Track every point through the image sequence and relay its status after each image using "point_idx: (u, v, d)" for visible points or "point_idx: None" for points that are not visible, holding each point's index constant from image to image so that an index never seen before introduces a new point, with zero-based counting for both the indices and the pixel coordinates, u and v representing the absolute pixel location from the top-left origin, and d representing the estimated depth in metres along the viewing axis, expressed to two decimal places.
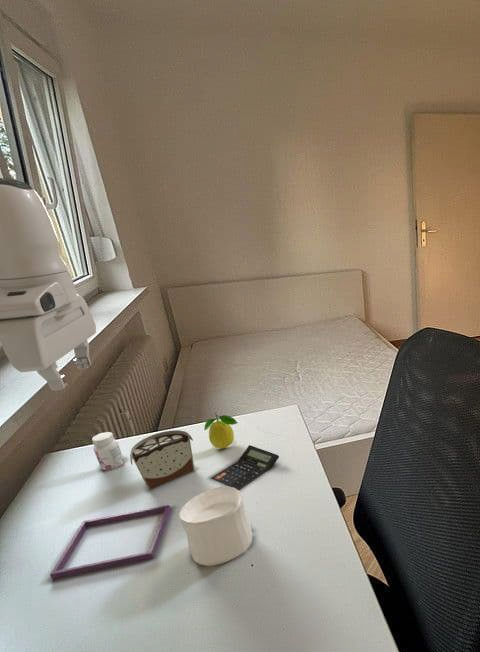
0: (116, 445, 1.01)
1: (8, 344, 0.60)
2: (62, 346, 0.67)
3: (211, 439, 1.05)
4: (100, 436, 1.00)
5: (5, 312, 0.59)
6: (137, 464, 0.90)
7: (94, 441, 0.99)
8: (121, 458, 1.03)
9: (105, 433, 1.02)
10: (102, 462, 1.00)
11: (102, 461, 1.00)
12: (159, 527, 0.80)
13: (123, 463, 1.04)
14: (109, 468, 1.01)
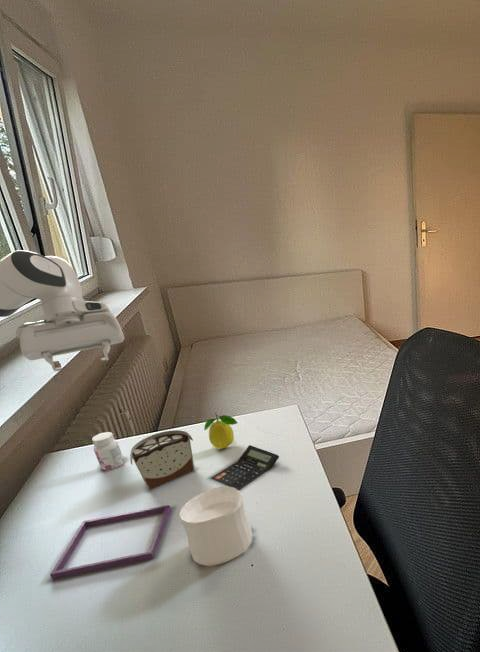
0: (116, 445, 1.01)
1: None
2: None
3: (211, 439, 1.05)
4: (100, 436, 1.00)
5: (109, 310, 1.12)
6: (137, 464, 0.90)
7: (94, 441, 0.99)
8: (121, 458, 1.03)
9: (105, 433, 1.02)
10: (102, 462, 1.00)
11: (102, 461, 1.00)
12: (159, 527, 0.80)
13: (123, 463, 1.04)
14: (109, 468, 1.01)
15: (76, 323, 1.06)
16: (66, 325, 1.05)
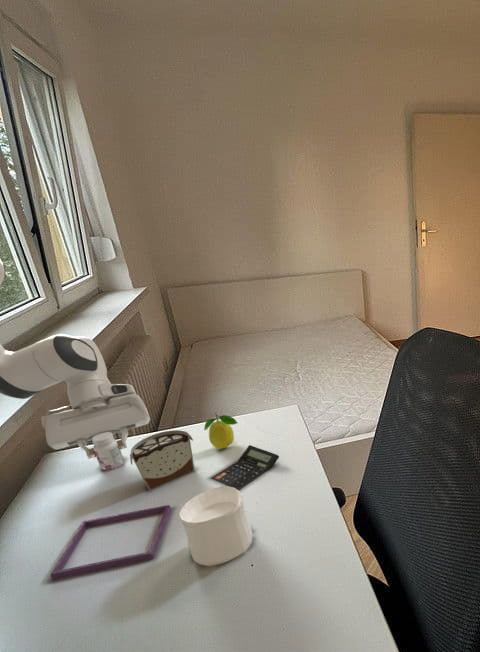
0: (116, 445, 1.01)
1: None
2: None
3: (211, 439, 1.05)
4: (100, 436, 1.00)
5: None
6: (137, 464, 0.90)
7: (94, 441, 0.99)
8: (121, 458, 1.03)
9: (105, 433, 1.02)
10: (102, 462, 1.00)
11: (101, 461, 1.00)
12: (159, 527, 0.80)
13: (123, 463, 1.04)
14: (109, 468, 1.01)
15: (102, 408, 1.03)
16: (92, 411, 1.02)
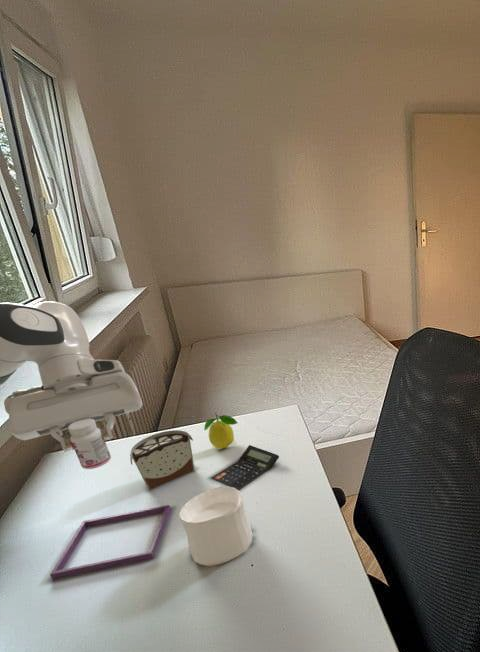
0: (99, 435, 0.81)
1: None
2: None
3: (211, 439, 1.05)
4: (79, 424, 0.80)
5: None
6: (137, 464, 0.90)
7: (71, 430, 0.78)
8: (106, 451, 0.83)
9: (86, 419, 0.81)
10: (81, 456, 0.80)
11: (81, 455, 0.80)
12: (159, 527, 0.80)
13: (109, 457, 0.83)
14: (90, 464, 0.81)
15: (82, 389, 0.83)
16: (69, 392, 0.82)
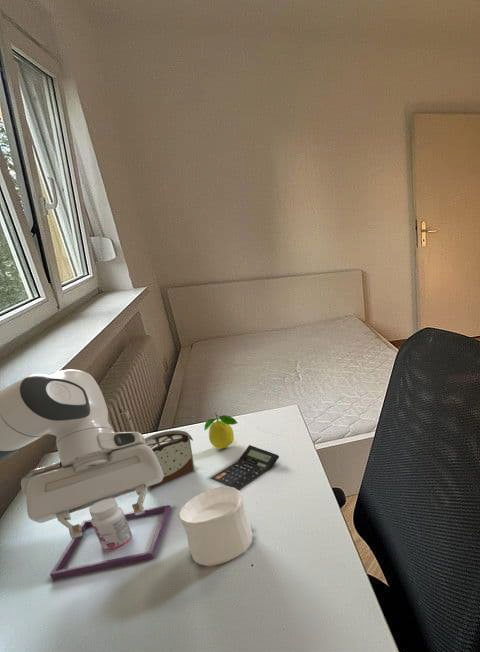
0: (121, 516, 0.77)
1: None
2: None
3: (211, 439, 1.05)
4: (100, 506, 0.76)
5: (144, 439, 0.85)
6: None
7: (92, 513, 0.74)
8: (127, 531, 0.79)
9: (107, 499, 0.77)
10: (102, 539, 0.76)
11: (102, 538, 0.76)
12: (159, 527, 0.80)
13: (130, 537, 0.79)
14: (112, 546, 0.77)
15: (102, 465, 0.79)
16: (89, 469, 0.78)
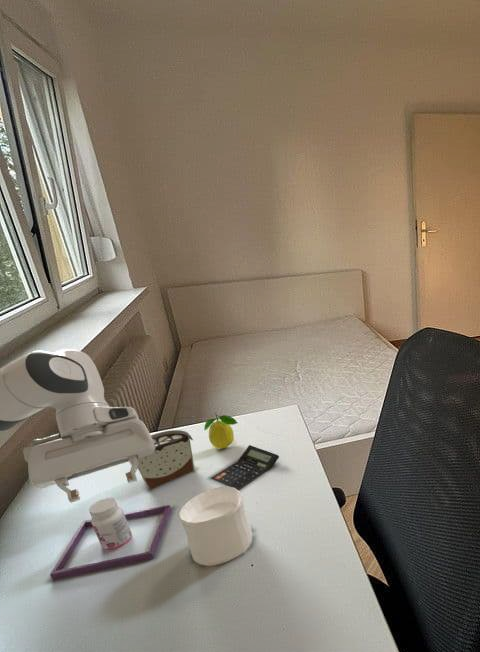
0: (121, 516, 0.77)
1: None
2: None
3: (211, 439, 1.05)
4: (100, 506, 0.76)
5: (137, 415, 0.91)
6: None
7: (92, 513, 0.74)
8: (127, 531, 0.79)
9: (107, 499, 0.77)
10: (102, 539, 0.76)
11: (102, 538, 0.76)
12: (159, 527, 0.80)
13: (130, 537, 0.79)
14: (112, 546, 0.77)
15: (98, 436, 0.86)
16: (85, 440, 0.85)
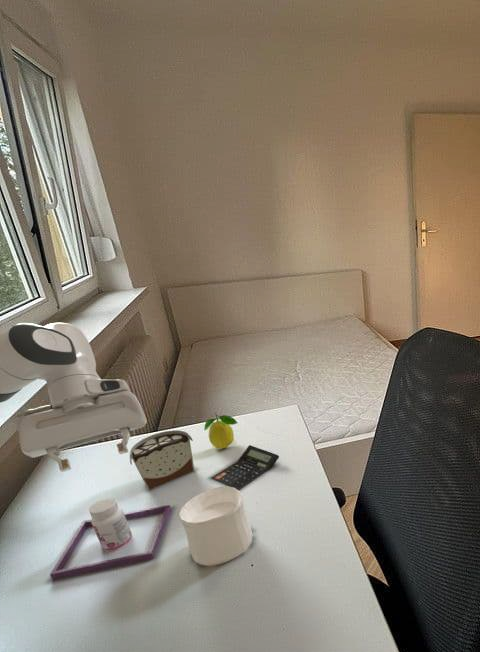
0: (121, 516, 0.77)
1: (139, 403, 0.91)
2: None
3: (211, 439, 1.05)
4: (100, 506, 0.76)
5: None
6: (136, 464, 0.90)
7: (92, 513, 0.74)
8: (127, 531, 0.79)
9: (107, 499, 0.77)
10: (102, 539, 0.76)
11: (102, 538, 0.76)
12: (159, 527, 0.80)
13: (130, 537, 0.79)
14: (112, 546, 0.77)
15: (89, 408, 0.87)
16: (77, 411, 0.86)
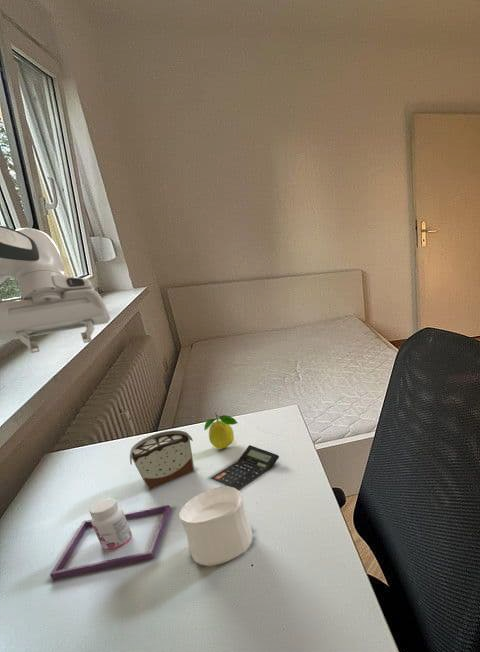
0: (121, 516, 0.77)
1: (102, 300, 1.01)
2: None
3: (211, 439, 1.05)
4: (100, 506, 0.76)
5: (93, 288, 1.02)
6: (136, 464, 0.90)
7: (92, 513, 0.74)
8: (127, 531, 0.79)
9: (107, 499, 0.77)
10: (102, 539, 0.76)
11: (102, 538, 0.76)
12: (159, 527, 0.80)
13: (130, 537, 0.79)
14: (112, 546, 0.77)
15: (56, 301, 0.97)
16: (45, 303, 0.96)
